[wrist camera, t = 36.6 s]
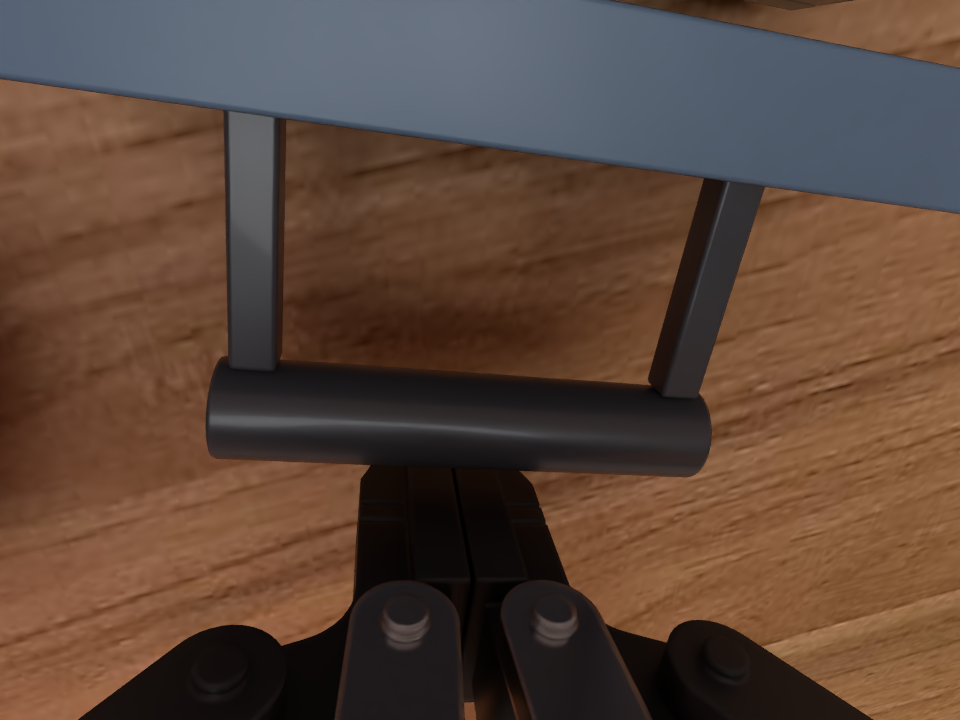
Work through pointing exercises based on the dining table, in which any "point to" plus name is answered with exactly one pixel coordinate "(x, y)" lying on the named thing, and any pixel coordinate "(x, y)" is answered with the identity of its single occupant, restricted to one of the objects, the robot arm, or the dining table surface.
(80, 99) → the dining table surface
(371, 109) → the drawer
